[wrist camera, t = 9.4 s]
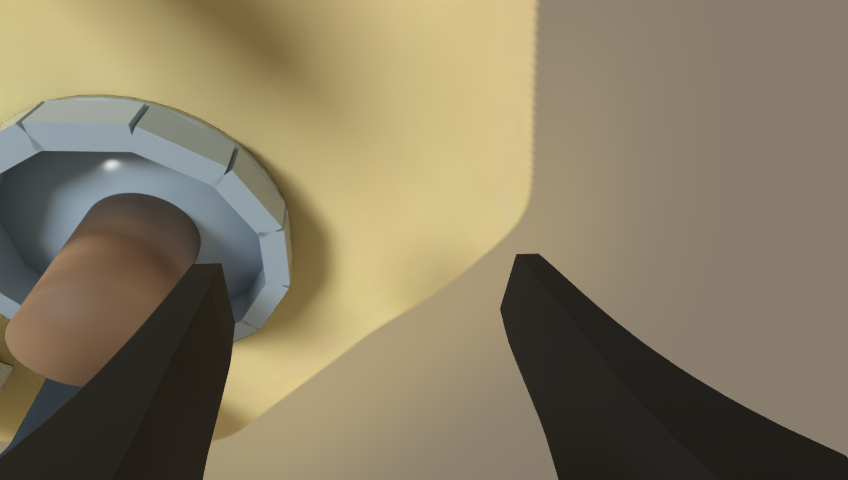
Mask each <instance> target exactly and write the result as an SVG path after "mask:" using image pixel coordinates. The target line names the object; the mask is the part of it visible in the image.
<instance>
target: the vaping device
mask: <svg viewBox="0 0 848 480" xmlns="http://www.w3.org/2000/svg"><path fill="white" fill-rule="evenodd" d="M81 388H82V387H79V386H73V385H68V384H64V383H60V382H57V381H54V380H51V379H48V378H47V379H46V380H45V382H44V384H43V386H42V388H41V390H40V391H39V393H38V395H37V397H36V399H35V400H34V402H33V404H32V406H31V408H30V410H29V411H28V413H27V415H26V417H25V419H24V420H23V422H22V424H21V426H20V428H19V430H18V431H17V433H16V435H15V437H14V439H13V440H12V442H11V444H10V445H9V446H8V447H7V448H6V449H5V451H3V452H2V453H1V454H0V458H1V457H2V456H3V455H5V454H6V453H7V452H8V451H10V450H11V449H12V448H13V447H14V446H16V445H17V444H18V443H19V442H21V441H22V440H23V439H24V438H25V437H27V436H28V435H29V434H30V433H31V432H32V431H34V430H35V429H36V428H37V427H38V426H40V425H41V424H42V423H43V422H44V421H46V420H47V419H48V418H49V417H50V416H51V415H52V414H54V413H55V412H56V411H57V410H58V409H59V408H60V407H61V406H62V405H64V404H65V403H66V402H67V401H68V400H69V399H70V398H71V397H72V396H73V395H74V394H76V393H77V392H78V391H79V390H80V389H81Z"/></svg>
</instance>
